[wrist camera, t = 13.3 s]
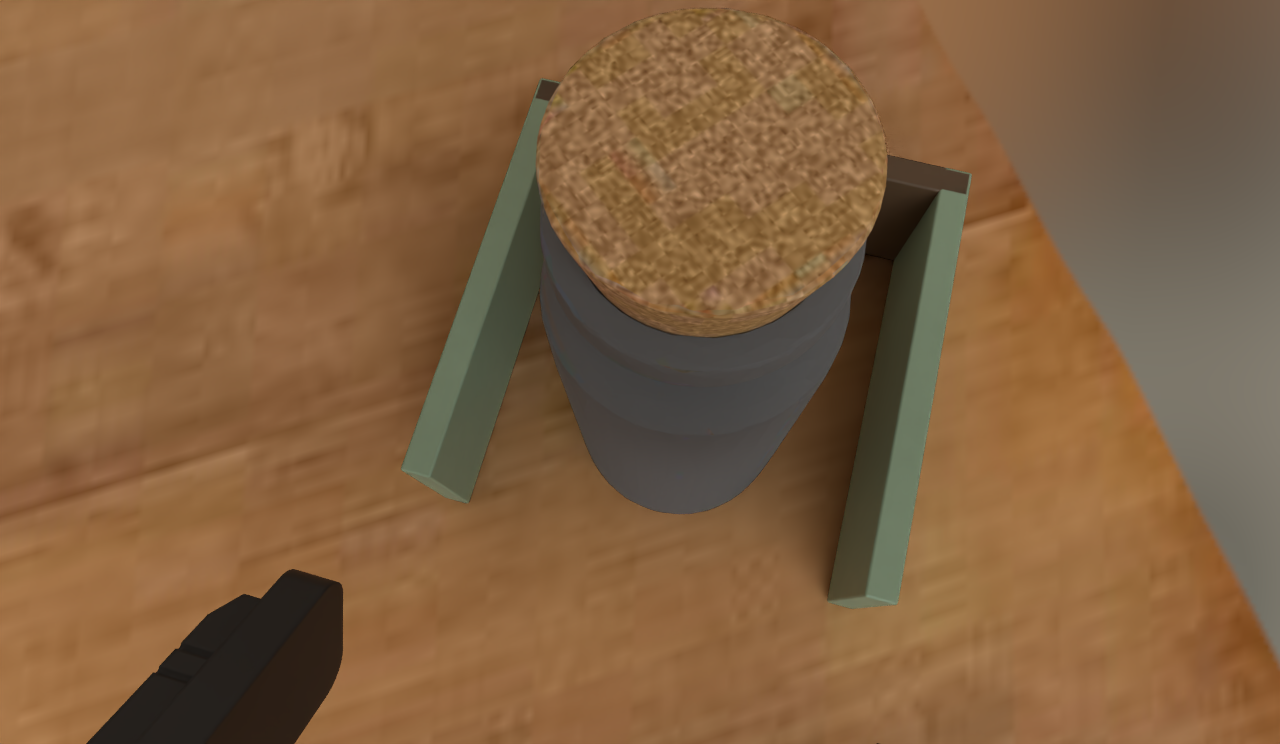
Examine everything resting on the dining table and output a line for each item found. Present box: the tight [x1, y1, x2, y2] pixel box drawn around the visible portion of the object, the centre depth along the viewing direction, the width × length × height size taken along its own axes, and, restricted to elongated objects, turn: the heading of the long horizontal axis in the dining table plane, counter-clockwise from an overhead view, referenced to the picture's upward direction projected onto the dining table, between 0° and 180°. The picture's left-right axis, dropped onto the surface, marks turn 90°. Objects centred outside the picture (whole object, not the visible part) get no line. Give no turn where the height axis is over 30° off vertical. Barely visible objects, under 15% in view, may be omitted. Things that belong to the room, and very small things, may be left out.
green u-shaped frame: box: [401, 78, 972, 609], centre depth 24 cm, size 12×12×4 cm
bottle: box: [536, 8, 888, 514], centre depth 18 cm, size 6×6×15 cm
